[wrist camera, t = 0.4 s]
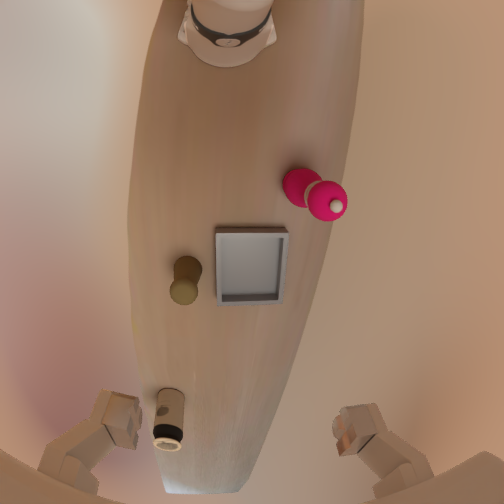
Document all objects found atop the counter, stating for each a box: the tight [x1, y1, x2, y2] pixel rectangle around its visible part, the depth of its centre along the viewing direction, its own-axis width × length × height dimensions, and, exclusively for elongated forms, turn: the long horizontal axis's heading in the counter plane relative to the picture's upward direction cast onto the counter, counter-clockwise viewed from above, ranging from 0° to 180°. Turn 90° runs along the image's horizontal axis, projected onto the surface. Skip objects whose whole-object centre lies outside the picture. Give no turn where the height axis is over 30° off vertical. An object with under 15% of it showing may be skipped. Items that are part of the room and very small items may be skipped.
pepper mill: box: [283, 169, 347, 221], centre depth 45 cm, size 7×7×20 cm
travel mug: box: [153, 389, 184, 451], centre depth 64 cm, size 8×8×18 cm
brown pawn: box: [170, 256, 202, 305], centre depth 53 cm, size 6×6×11 cm
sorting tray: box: [216, 228, 289, 306], centre depth 58 cm, size 16×14×4 cm
